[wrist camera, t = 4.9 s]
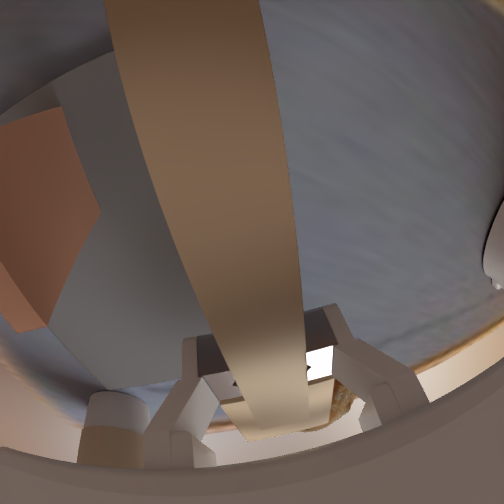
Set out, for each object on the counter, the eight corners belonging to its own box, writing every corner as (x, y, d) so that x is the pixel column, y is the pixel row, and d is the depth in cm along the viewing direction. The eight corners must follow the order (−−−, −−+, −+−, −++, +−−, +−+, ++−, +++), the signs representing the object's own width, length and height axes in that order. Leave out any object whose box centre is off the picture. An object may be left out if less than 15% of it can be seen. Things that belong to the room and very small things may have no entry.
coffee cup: (113, 425, 28) (116, 533, 16) (63, 391, 23) (53, 520, 11) (174, 416, 28) (189, 538, 16) (127, 379, 23) (129, 536, 11)
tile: (61, 106, 10) (-50, 149, 4) (101, 211, 14) (47, 326, 7) (36, 120, 10) (-75, 176, 3) (77, 221, 13) (17, 333, 7)
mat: (198, 27, 10) (198, 23, 10) (276, 344, 24) (279, 353, 23) (-39, 151, 10) (-48, 156, 9) (109, 381, 23) (108, 390, 22)
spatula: (63, 7, 4) (10, -8, 2) (296, -49, 4) (334, -88, 2) (246, 433, 17) (251, 463, 15) (325, 414, 17) (335, 443, 15)
